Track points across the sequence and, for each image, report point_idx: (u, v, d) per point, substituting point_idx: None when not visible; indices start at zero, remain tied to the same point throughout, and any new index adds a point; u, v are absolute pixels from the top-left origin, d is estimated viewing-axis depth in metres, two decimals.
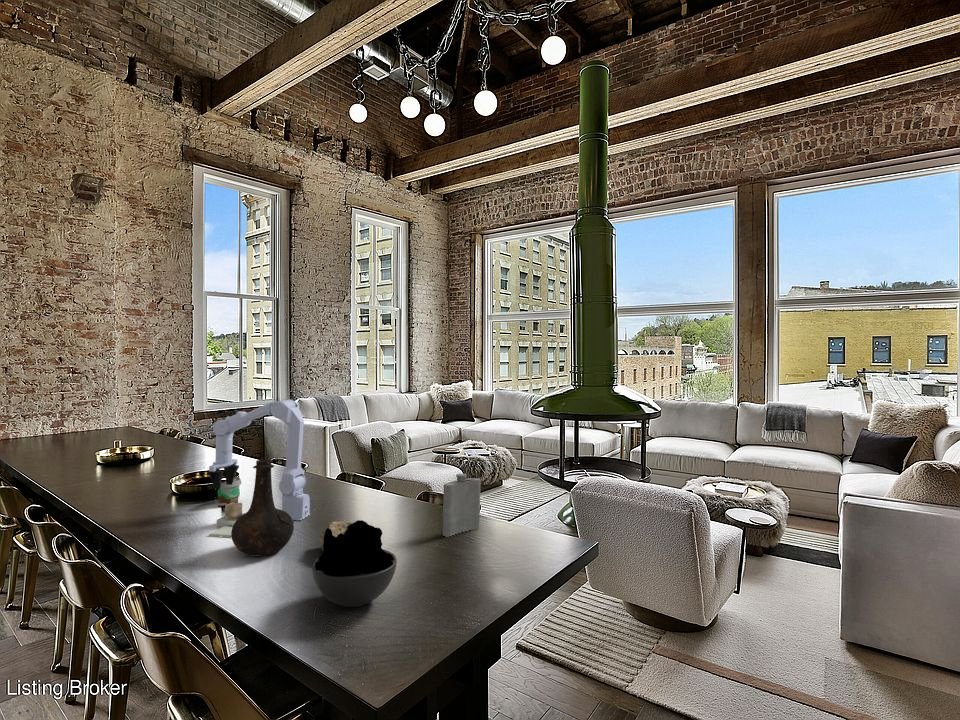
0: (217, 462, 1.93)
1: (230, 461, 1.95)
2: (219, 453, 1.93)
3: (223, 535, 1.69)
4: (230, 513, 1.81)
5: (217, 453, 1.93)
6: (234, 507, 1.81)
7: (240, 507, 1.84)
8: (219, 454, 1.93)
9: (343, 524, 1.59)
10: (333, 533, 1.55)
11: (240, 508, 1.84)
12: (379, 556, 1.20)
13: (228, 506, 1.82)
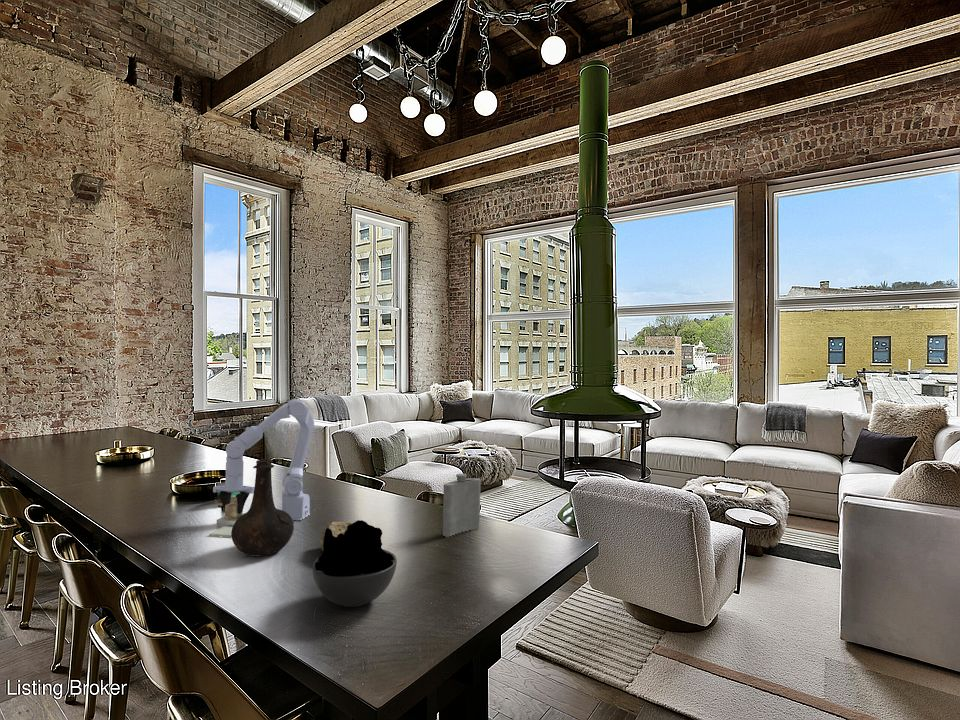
0: None
1: (229, 487, 1.81)
2: None
3: (223, 535, 1.69)
4: (230, 513, 1.81)
5: None
6: (234, 507, 1.81)
7: None
8: None
9: (343, 524, 1.59)
10: (333, 533, 1.55)
11: None
12: (379, 556, 1.20)
13: (228, 506, 1.82)
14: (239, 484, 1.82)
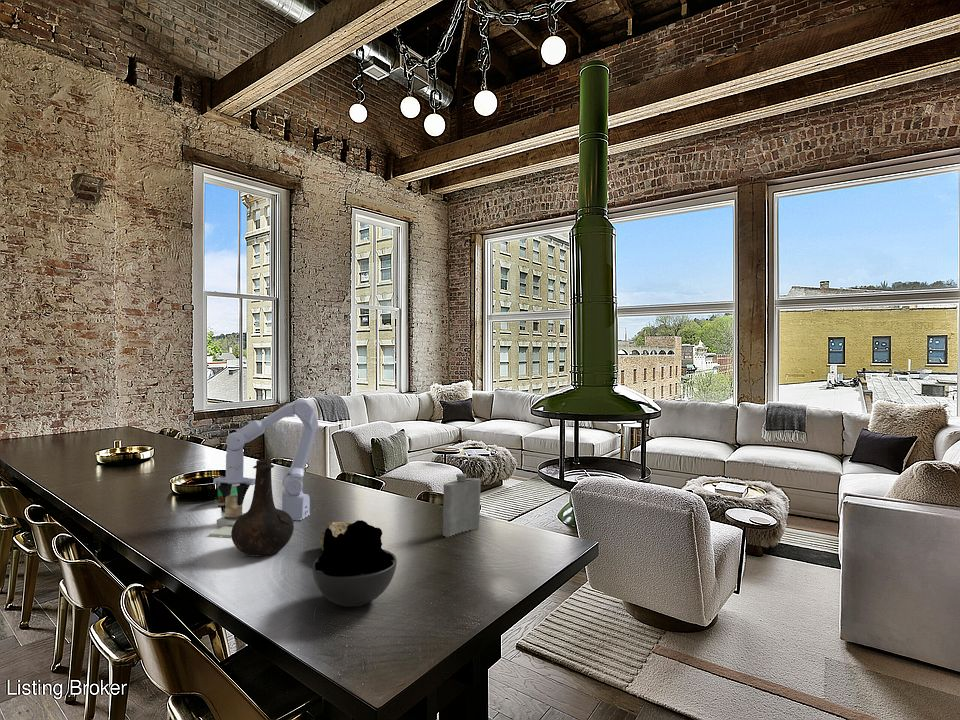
0: None
1: (230, 478, 1.81)
2: None
3: (223, 535, 1.69)
4: (230, 505, 1.81)
5: None
6: (234, 499, 1.81)
7: None
8: None
9: (343, 524, 1.59)
10: (333, 534, 1.55)
11: None
12: (379, 556, 1.20)
13: (228, 498, 1.82)
14: (239, 476, 1.82)
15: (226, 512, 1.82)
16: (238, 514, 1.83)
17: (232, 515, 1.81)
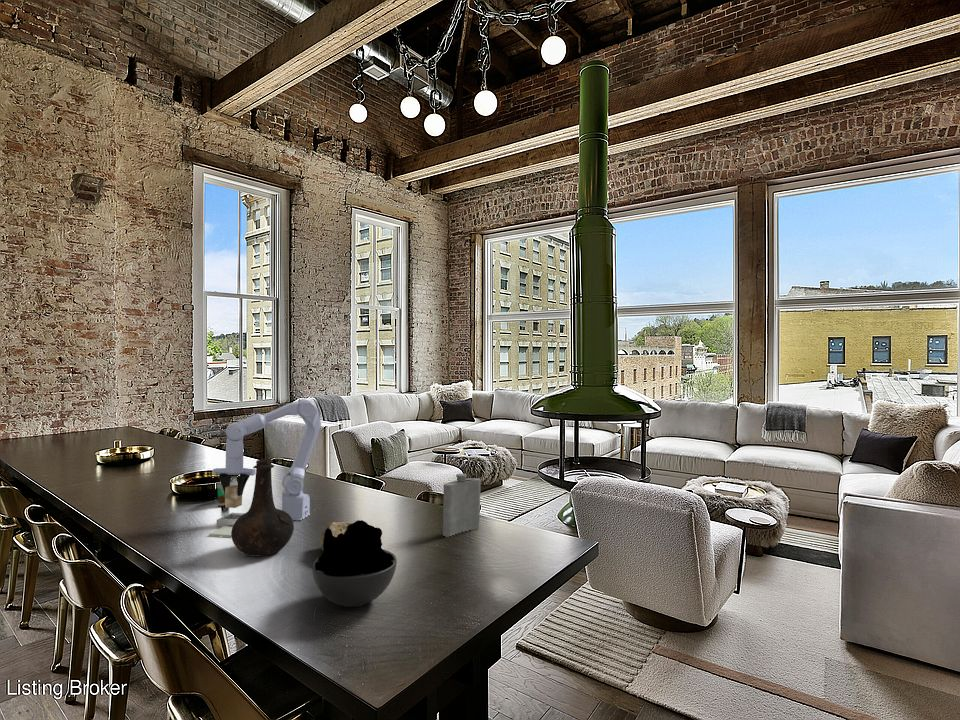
0: None
1: (230, 469, 1.80)
2: None
3: (223, 535, 1.69)
4: (230, 495, 1.81)
5: None
6: (234, 489, 1.81)
7: None
8: None
9: (343, 525, 1.59)
10: (334, 534, 1.54)
11: None
12: (379, 556, 1.20)
13: (228, 488, 1.81)
14: (239, 466, 1.81)
15: (226, 503, 1.81)
16: (238, 505, 1.82)
17: (232, 506, 1.81)
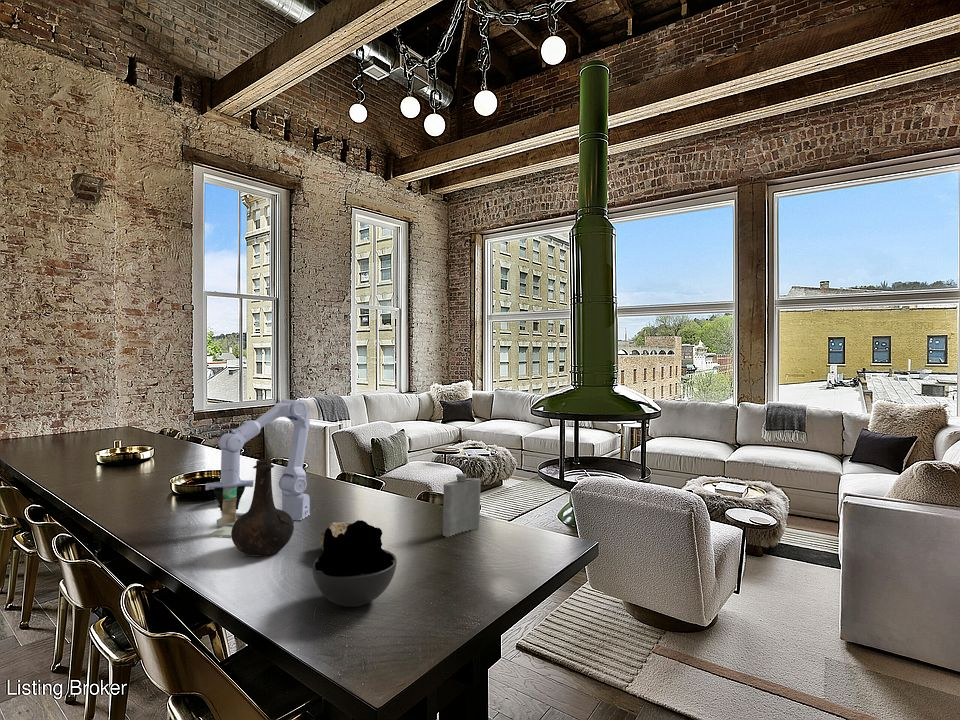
0: None
1: (229, 482, 1.71)
2: (221, 471, 1.72)
3: (223, 535, 1.69)
4: (229, 510, 1.72)
5: None
6: (234, 503, 1.72)
7: None
8: (221, 472, 1.72)
9: (343, 525, 1.59)
10: (334, 534, 1.54)
11: None
12: (379, 556, 1.20)
13: (226, 503, 1.72)
14: (238, 479, 1.73)
15: (223, 518, 1.71)
16: (235, 519, 1.74)
17: (231, 520, 1.72)
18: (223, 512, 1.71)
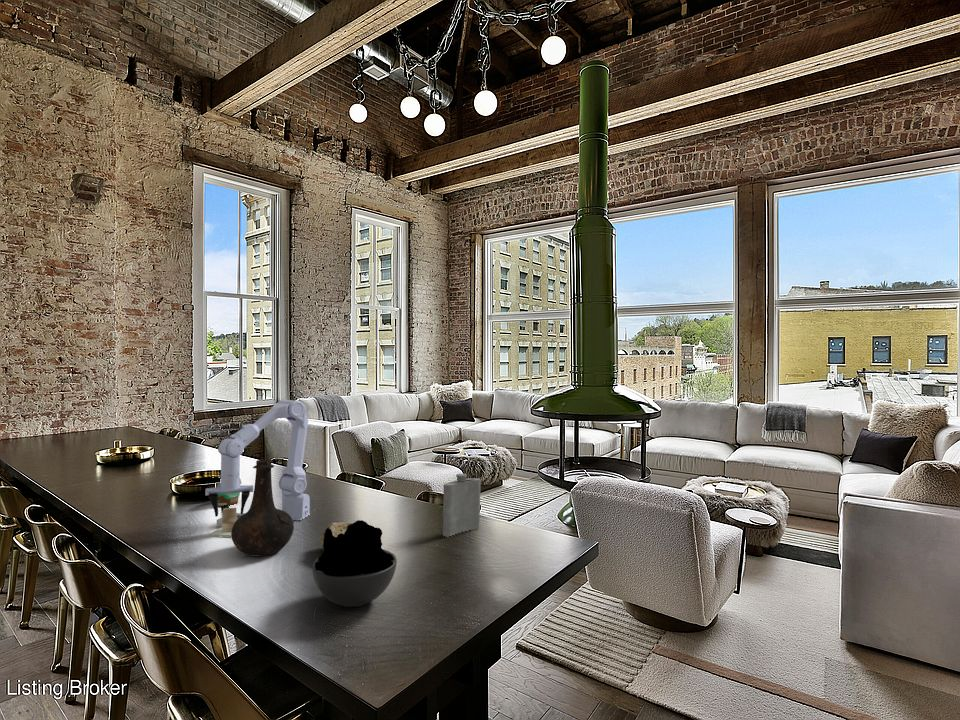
0: None
1: (229, 487, 1.71)
2: (221, 476, 1.72)
3: (223, 535, 1.69)
4: (229, 519, 1.72)
5: None
6: (234, 512, 1.72)
7: None
8: (221, 477, 1.72)
9: (344, 525, 1.58)
10: (334, 534, 1.54)
11: None
12: (379, 556, 1.20)
13: (226, 512, 1.72)
14: (238, 484, 1.73)
15: (223, 527, 1.71)
16: None
17: (231, 530, 1.72)
18: (223, 521, 1.71)
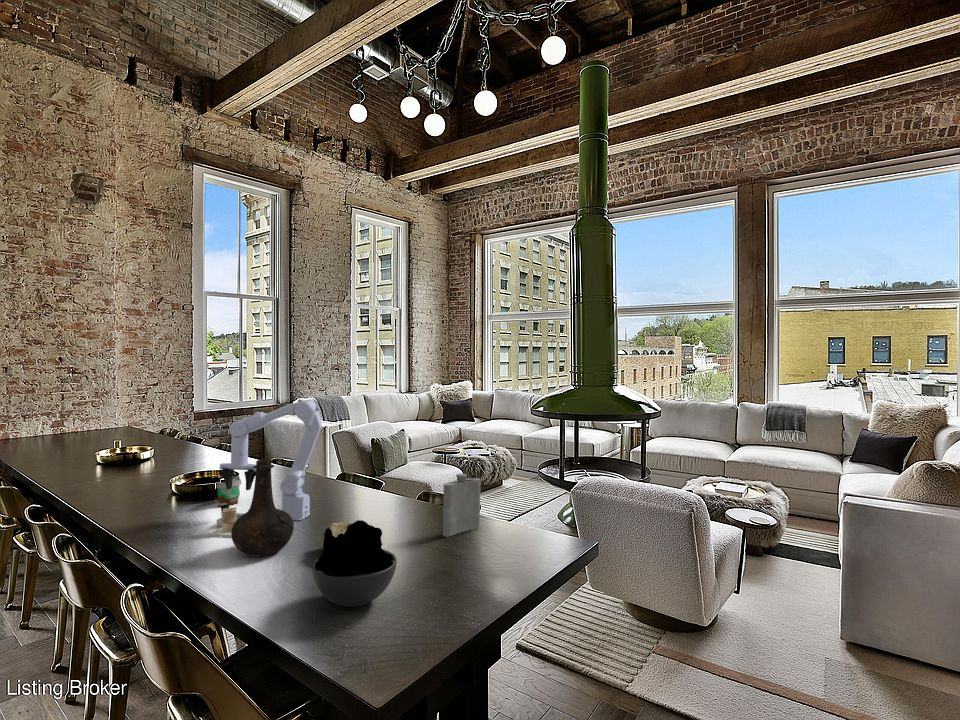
0: None
1: (234, 464, 1.88)
2: None
3: (223, 535, 1.69)
4: (229, 519, 1.72)
5: None
6: (234, 512, 1.72)
7: None
8: None
9: (344, 525, 1.58)
10: (335, 534, 1.54)
11: None
12: (379, 556, 1.20)
13: (226, 512, 1.72)
14: (243, 462, 1.90)
15: (223, 527, 1.71)
16: None
17: (231, 530, 1.72)
18: (223, 521, 1.71)
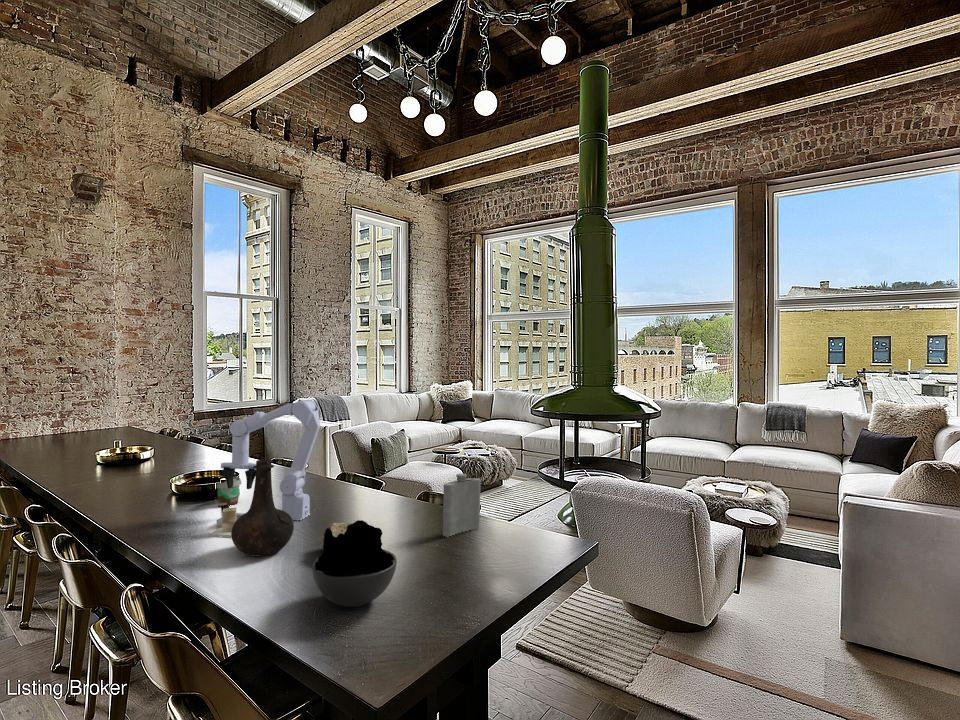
0: None
1: (235, 463, 1.90)
2: None
3: (223, 535, 1.69)
4: (229, 519, 1.72)
5: None
6: (234, 512, 1.72)
7: None
8: None
9: (344, 525, 1.58)
10: (335, 534, 1.54)
11: None
12: (379, 556, 1.20)
13: (226, 512, 1.72)
14: (244, 461, 1.91)
15: (223, 527, 1.71)
16: None
17: (231, 530, 1.72)
18: (223, 521, 1.71)
